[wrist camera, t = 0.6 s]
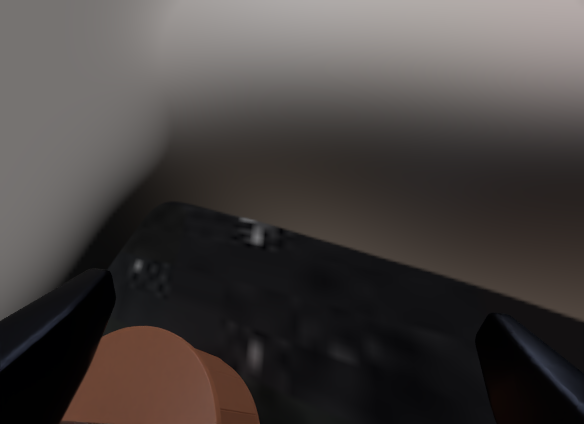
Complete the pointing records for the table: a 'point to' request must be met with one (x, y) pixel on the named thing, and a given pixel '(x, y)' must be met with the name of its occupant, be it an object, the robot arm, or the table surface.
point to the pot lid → (145, 382)
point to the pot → (230, 392)
